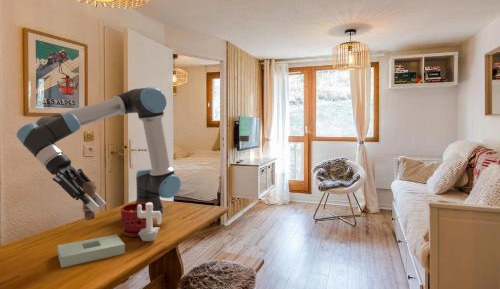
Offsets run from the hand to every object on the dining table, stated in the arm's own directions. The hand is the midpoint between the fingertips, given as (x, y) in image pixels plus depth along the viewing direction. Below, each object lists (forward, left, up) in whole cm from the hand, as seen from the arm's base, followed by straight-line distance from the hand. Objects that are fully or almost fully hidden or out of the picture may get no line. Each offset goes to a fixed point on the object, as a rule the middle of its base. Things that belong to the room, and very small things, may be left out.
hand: (99, 207), depth 112 cm
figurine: (-19, -5, -17) cm, 27 cm away
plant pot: (-17, -14, -17) cm, 28 cm away
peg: (+3, -2, -4) cm, 6 cm away
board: (+3, -2, -17) cm, 18 cm away
